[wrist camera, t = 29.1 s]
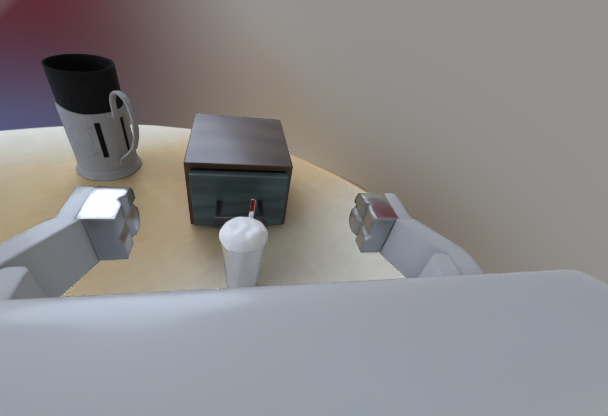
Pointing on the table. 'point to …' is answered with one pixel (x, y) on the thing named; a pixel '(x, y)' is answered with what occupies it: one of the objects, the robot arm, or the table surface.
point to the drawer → (237, 195)
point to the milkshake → (243, 249)
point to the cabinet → (236, 147)
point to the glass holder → (94, 115)
